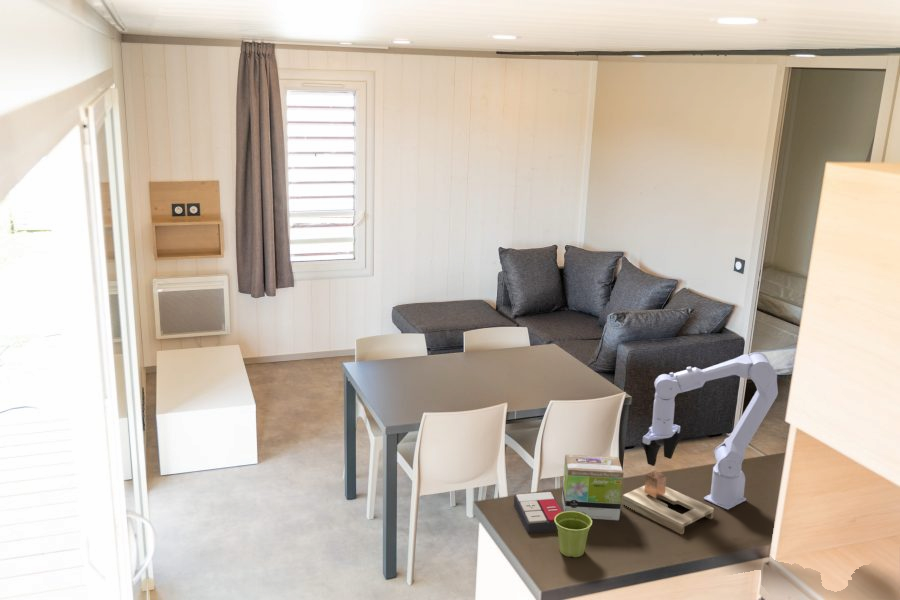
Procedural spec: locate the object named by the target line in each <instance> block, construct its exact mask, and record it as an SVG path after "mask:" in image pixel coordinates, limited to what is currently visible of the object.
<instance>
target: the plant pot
mask: <svg viewBox="0 0 900 600" xmlns="http://www.w3.org/2000/svg"><path fill="white" fill-rule="evenodd" d="M554 521H555V524H556V526H557V529H558V531H557V535H558V545H559V546H558V547H559V552H560V553H561V554H562V555H563V556H565V557H573V558H578V557H582V556H583V555H584V553H585V549H586V544H587V540H588V534H589V531H590V529H591V526H592V525H593V519H591V518H590V517H589V516H587V515H585V514H583V513H580V512H575V511H566V512H564V511H563V512H562V513H559V514H557V515H556V516H555V518H554Z"/></svg>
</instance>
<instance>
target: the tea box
mask: <svg viewBox="0 0 900 600" xmlns="http://www.w3.org/2000/svg"><path fill="white" fill-rule="evenodd" d="M563 466H564V467H563V481H562V491H561V492H562V495H561V503H562V507H563V512H566V511H575V512H580V513H583V514H585V515H587V516H589V517H590V518H591V520H593V519H594V520H606V521H607V520H608V521H617V522H618V521H620V516H621V508H622V507H621V506H622V497H623V482H624V471H623V468H622V464H621V462H620V459H619V457H617V456H601V455H600V456H599V455H583V454H582V455H581V454H580V455H579V454H565V456H564V465H563Z"/></svg>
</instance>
